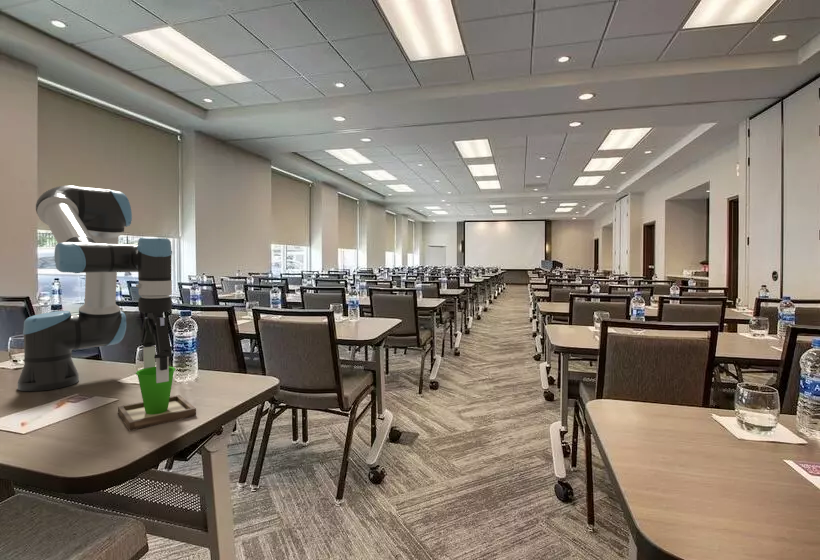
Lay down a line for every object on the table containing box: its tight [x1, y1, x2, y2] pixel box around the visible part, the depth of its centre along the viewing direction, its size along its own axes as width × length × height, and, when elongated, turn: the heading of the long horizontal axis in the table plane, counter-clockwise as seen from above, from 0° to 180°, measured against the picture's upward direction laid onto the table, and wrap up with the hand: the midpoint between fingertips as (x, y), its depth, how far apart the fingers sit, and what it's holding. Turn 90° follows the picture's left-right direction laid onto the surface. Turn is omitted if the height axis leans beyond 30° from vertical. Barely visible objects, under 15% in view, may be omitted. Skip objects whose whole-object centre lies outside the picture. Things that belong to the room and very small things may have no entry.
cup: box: [135, 365, 177, 414], centre depth 113 cm, size 9×9×11 cm
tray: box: [117, 394, 197, 432], centre depth 114 cm, size 15×15×2 cm
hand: (155, 375), depth 114 cm, fingers open, 13 cm apart
